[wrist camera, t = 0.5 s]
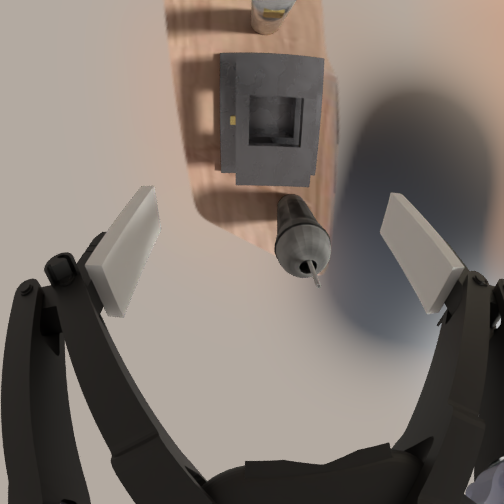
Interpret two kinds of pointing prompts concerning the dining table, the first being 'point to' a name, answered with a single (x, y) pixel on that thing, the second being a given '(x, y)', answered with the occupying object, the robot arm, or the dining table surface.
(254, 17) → the silver metal cylinder
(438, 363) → the robot arm
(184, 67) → the dining table surface
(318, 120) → the grey holder stand
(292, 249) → the beverage cup
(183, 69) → the dining table surface
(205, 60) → the dining table surface
